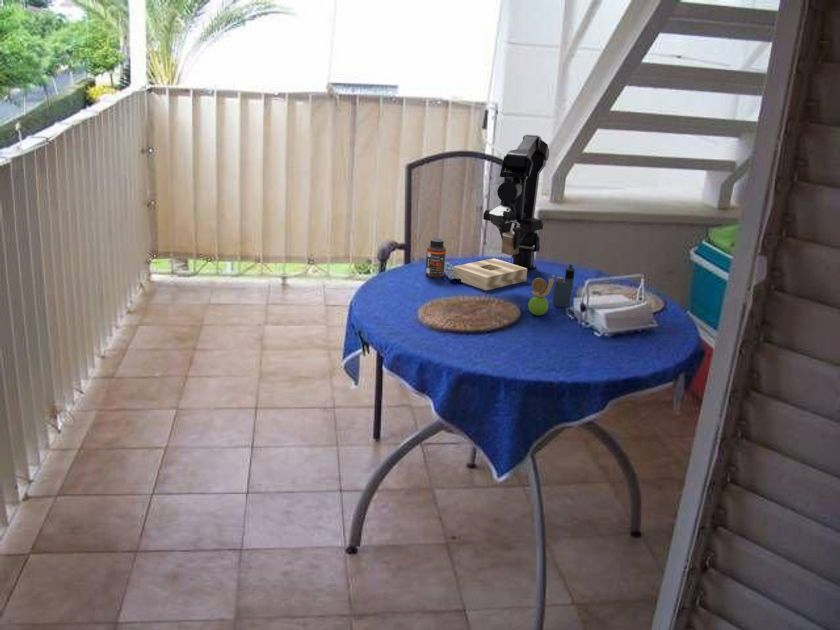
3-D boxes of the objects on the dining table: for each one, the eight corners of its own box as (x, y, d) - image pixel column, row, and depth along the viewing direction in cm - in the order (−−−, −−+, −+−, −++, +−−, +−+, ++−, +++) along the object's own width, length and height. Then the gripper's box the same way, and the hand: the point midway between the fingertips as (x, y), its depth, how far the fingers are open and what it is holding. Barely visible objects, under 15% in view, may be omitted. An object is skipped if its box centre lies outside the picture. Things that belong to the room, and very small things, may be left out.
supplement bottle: (427, 278, 253) (429, 242, 250) (423, 272, 259) (424, 237, 255) (446, 277, 255) (448, 242, 251) (441, 272, 260) (443, 237, 256)
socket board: (493, 270, 265) (494, 258, 264) (526, 280, 256) (527, 268, 254) (452, 278, 254) (453, 266, 252) (485, 290, 244) (486, 277, 243)
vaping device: (571, 307, 233) (576, 266, 229) (552, 306, 233) (557, 265, 229) (570, 304, 235) (574, 263, 231) (551, 303, 235) (555, 262, 231)
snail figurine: (545, 320, 221) (550, 277, 217) (524, 315, 224) (528, 272, 220) (554, 315, 225) (558, 273, 222) (532, 310, 229) (536, 268, 225)
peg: (509, 250, 249) (510, 231, 247) (518, 253, 247) (520, 233, 244) (501, 252, 247) (502, 232, 245) (510, 255, 244) (512, 235, 242)
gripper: (472, 193, 242) (468, 245, 247) (521, 205, 229) (516, 259, 235) (497, 189, 249) (493, 239, 254) (546, 200, 237) (541, 253, 242)
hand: (510, 248), depth 246 cm, fingers closed on peg, 4 cm apart
